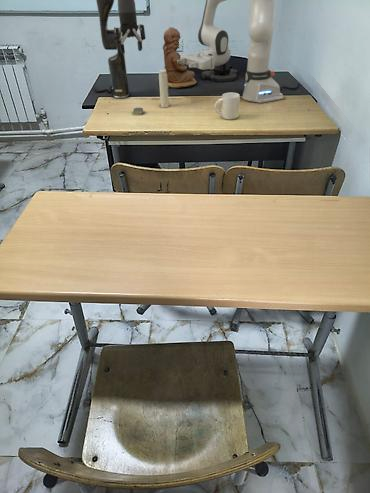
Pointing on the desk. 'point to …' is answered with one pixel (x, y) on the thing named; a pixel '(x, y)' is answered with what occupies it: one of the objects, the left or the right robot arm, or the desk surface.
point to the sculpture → (175, 61)
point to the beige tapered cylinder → (163, 88)
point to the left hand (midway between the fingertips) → (131, 51)
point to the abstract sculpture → (220, 73)
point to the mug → (229, 105)
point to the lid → (138, 111)
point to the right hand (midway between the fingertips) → (183, 64)
